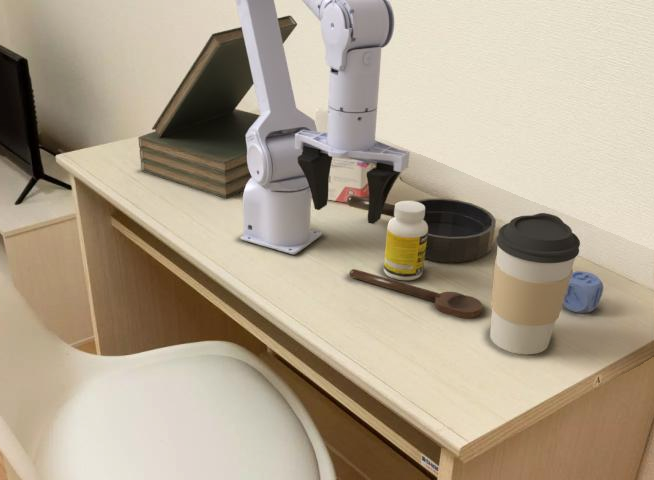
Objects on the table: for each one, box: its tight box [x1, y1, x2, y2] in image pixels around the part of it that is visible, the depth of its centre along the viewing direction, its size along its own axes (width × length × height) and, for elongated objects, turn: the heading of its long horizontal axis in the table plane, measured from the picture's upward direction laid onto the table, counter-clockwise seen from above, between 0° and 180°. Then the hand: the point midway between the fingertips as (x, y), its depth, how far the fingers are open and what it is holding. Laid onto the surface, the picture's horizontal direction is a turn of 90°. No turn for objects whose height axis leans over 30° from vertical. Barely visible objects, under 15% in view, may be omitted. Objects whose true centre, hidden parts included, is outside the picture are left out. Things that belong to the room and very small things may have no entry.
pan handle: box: [346, 195, 395, 218], centre depth 121 cm, size 9×2×2 cm, turn 60°
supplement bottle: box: [383, 200, 428, 281], centre depth 107 cm, size 5×5×10 cm
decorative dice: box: [562, 270, 604, 314], centre depth 102 cm, size 4×4×4 cm
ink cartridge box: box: [315, 108, 372, 204], centre depth 128 cm, size 9×5×15 cm, turn 68°
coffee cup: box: [489, 212, 581, 355], centre depth 91 cm, size 9×9×15 cm
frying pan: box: [415, 197, 497, 263], centre depth 117 cm, size 14×14×4 cm
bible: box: [137, 15, 298, 199], centre depth 136 cm, size 23×20×25 cm
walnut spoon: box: [349, 268, 483, 319], centre depth 104 cm, size 19×4×1 cm, turn 60°
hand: (347, 213), depth 100 cm, fingers open, 7 cm apart
